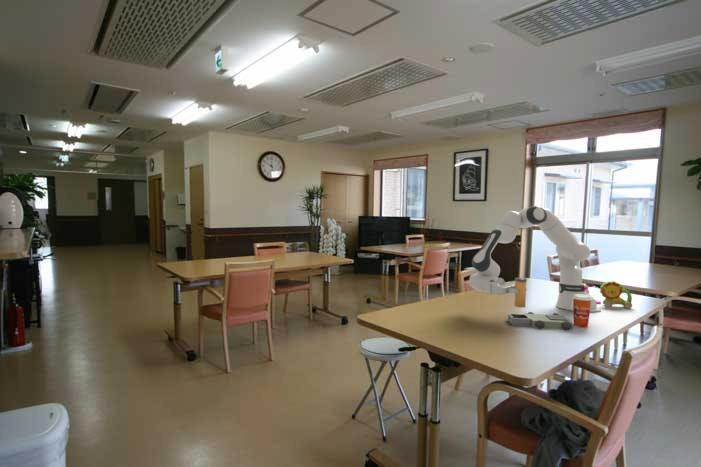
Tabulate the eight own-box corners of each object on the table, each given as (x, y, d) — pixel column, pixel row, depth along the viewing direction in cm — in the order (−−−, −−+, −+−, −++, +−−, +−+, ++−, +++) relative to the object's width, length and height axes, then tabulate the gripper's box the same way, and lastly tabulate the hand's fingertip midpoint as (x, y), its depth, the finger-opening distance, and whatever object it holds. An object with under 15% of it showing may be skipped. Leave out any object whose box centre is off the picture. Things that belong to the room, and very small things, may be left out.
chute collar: (526, 321, 198) (526, 314, 198) (531, 326, 189) (531, 319, 189) (507, 320, 200) (507, 313, 199) (512, 325, 191) (512, 318, 190)
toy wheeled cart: (561, 321, 199) (561, 313, 198) (573, 330, 183) (574, 322, 183) (524, 319, 201) (524, 311, 201) (533, 328, 186) (533, 320, 186)
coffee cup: (571, 326, 190) (573, 296, 189) (570, 322, 197) (572, 293, 196) (591, 329, 186) (593, 298, 185) (590, 324, 193) (591, 295, 192)
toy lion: (628, 306, 229) (630, 281, 228) (632, 309, 224) (633, 283, 223) (598, 304, 234) (599, 279, 233) (600, 306, 229) (602, 281, 228)
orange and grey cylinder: (521, 304, 197) (523, 277, 196) (527, 307, 191) (529, 279, 190) (511, 304, 196) (513, 277, 195) (517, 307, 191) (518, 279, 190)
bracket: (576, 299, 247) (577, 288, 246) (583, 298, 249) (583, 288, 248) (596, 304, 235) (597, 293, 234) (602, 303, 237) (603, 292, 236)
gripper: (508, 289, 210) (532, 294, 199) (485, 294, 198) (510, 299, 187) (508, 278, 210) (533, 282, 198) (486, 282, 198) (511, 286, 186)
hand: (522, 290), depth 193 cm, fingers closed on orange and grey cylinder, 5 cm apart
